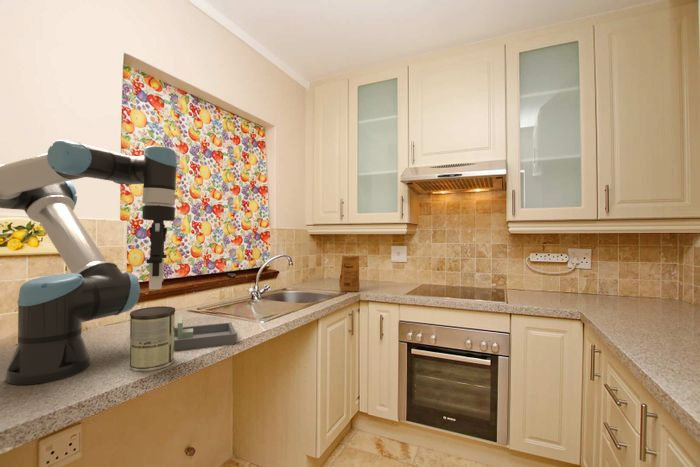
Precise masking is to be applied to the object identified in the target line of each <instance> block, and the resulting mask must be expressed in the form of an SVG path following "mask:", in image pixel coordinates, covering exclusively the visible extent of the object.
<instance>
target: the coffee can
mask: <svg viewBox="0 0 700 467" xmlns="http://www.w3.org/2000/svg"><path fill="white" fill-rule="evenodd" d="M175 312H176V308H175V307H173V306H167V305H165V306H164V305H163V306H161V305H160V306H148V307H141V308H138V309H135V310H132V311H130V312H129V317H130V320H129V323H130V324H129V325H130V326H129V327H130V328H129V329H130V330H129V333H130V334H129V339H130V340H129V369H130V370H131V371H134V372H150V371H156V370H160V369H164V368H167V367H169V366H170V365H173V363H174V362H175V351H174V328H175V315H176V314H175Z"/></svg>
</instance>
